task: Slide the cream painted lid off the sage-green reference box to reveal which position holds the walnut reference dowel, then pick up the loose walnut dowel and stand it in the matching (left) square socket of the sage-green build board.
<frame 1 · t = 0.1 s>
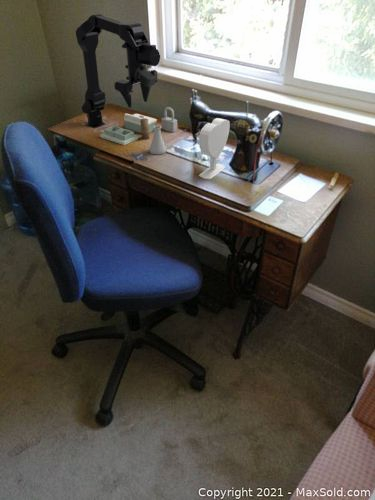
hand: (137, 104, 151), 14 cm above the table, fingers open, 9 cm apart
build board: (119, 137, 161), on the table
heart sculpture: (212, 171, 137), on the table
dowel: (145, 138, 161), on the table
cover: (140, 117, 166), point 5 cm above the table, slide at 0.0 cm
flask: (158, 151, 150), on the table
padlock: (169, 130, 169), on the table
reference box: (140, 128, 169), on the table
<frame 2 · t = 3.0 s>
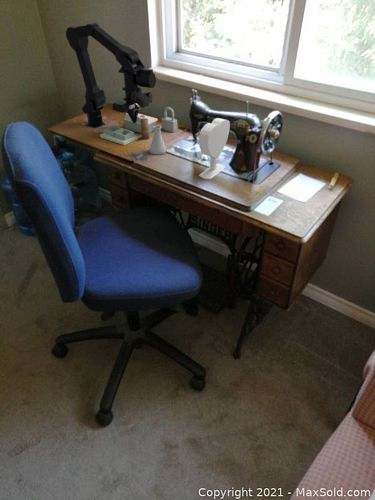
hand: (134, 122, 163), 4 cm above the table, fingers closed
cover: (140, 117, 166), point 5 cm above the table, slide at 0.6 cm, touching gripper
everything else where it was.
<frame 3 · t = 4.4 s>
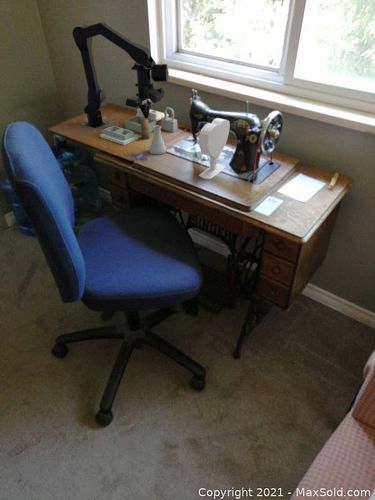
hand: (146, 117, 168), 4 cm above the table, fingers closed
cover: (152, 112, 171), point 5 cm above the table, slide at 8.3 cm, touching gripper
everything else where it was.
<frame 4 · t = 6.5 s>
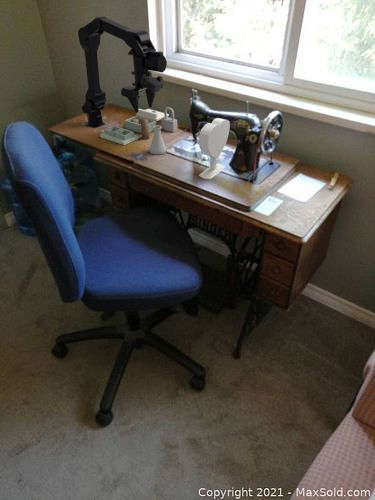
hand: (143, 109, 153), 12 cm above the table, fingers open, 8 cm apart
cover: (152, 112, 171), point 5 cm above the table, slide at 8.4 cm
everything else where it was.
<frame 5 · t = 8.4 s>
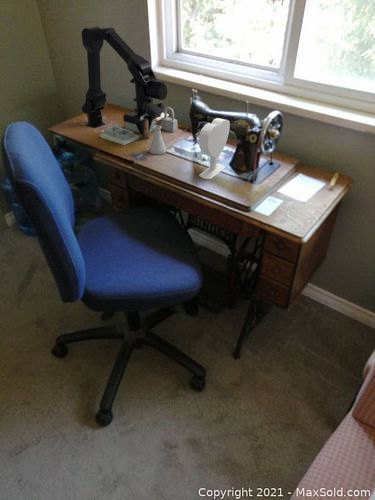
hand: (145, 133, 159), 2 cm above the table, fingers closed on dowel, 3 cm apart
dowel: (145, 138, 161), on the table, touching gripper
everything else where it was.
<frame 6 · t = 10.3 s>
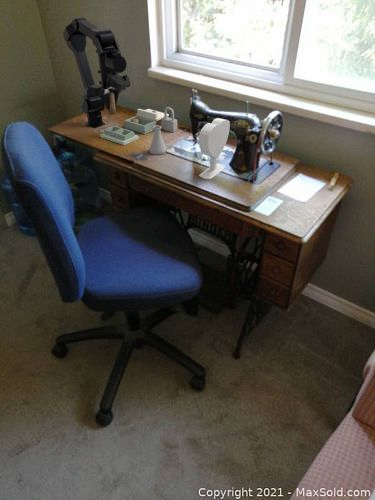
hand: (111, 108, 155), 12 cm above the table, fingers closed on dowel, 3 cm apart
dowel: (112, 113, 156), point 10 cm above the table, touching gripper
everything else where it was.
when the fingers open (4 cm above the table, at t = 12.5 s): dowel stays where it is, resting on build board.
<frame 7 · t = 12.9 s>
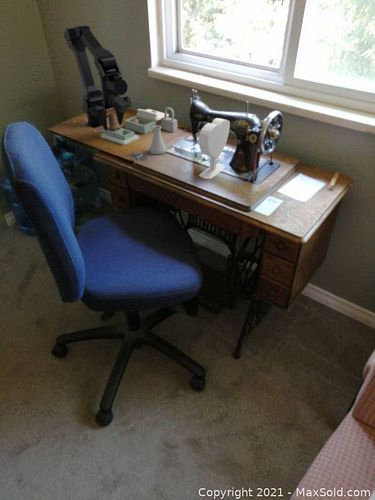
hand: (113, 127, 160), 4 cm above the table, fingers open, 8 cm apart
dowel: (114, 133, 162), point 1 cm above the table, touching build board
everything else where it was.
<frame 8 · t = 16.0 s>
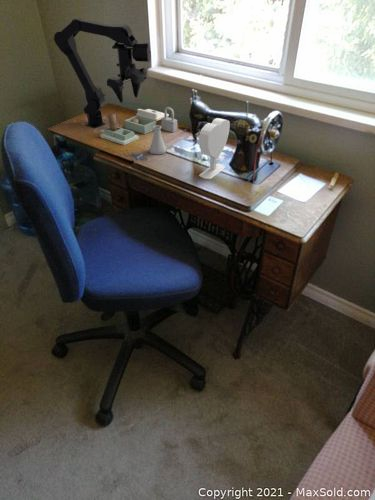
hand: (128, 99, 163), 12 cm above the table, fingers open, 9 cm apart
nothing on the table moved.
at the end: cover slide at 8.4 cm; dowel 0.0 cm from the target spot on the build board, point 1.2 cm above the build board's base; dowel tilted 0° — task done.
